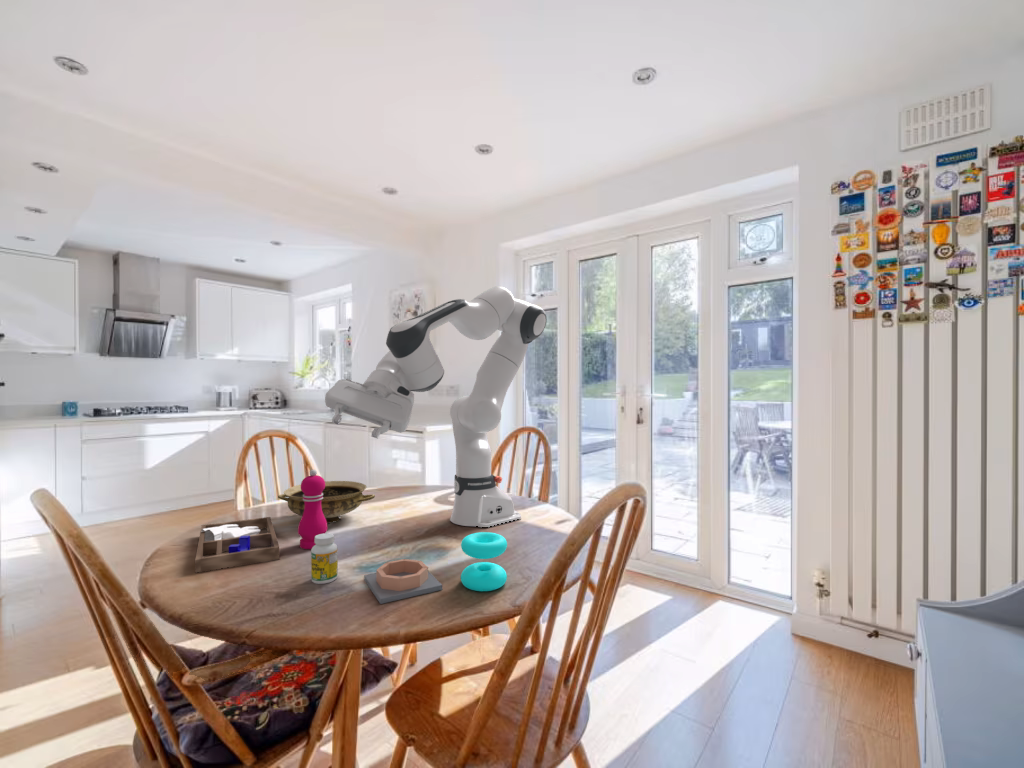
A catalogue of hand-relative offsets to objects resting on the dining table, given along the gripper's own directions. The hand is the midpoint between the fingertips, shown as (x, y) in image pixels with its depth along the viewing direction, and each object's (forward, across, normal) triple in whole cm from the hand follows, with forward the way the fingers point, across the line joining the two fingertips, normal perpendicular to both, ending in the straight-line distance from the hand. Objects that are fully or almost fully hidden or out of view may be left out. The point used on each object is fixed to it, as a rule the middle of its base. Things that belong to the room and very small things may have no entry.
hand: (354, 428), depth 108 cm
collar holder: (+22, +22, +17) cm, 36 cm away
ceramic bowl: (-7, -10, +55) cm, 56 cm away
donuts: (+18, +39, +13) cm, 45 cm away
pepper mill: (+9, -5, +40) cm, 41 cm away
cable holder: (+19, -18, +38) cm, 46 cm away
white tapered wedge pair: (+12, -26, +47) cm, 55 cm away
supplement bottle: (+24, +6, +23) cm, 34 cm away
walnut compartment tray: (+14, -23, +43) cm, 51 cm away
